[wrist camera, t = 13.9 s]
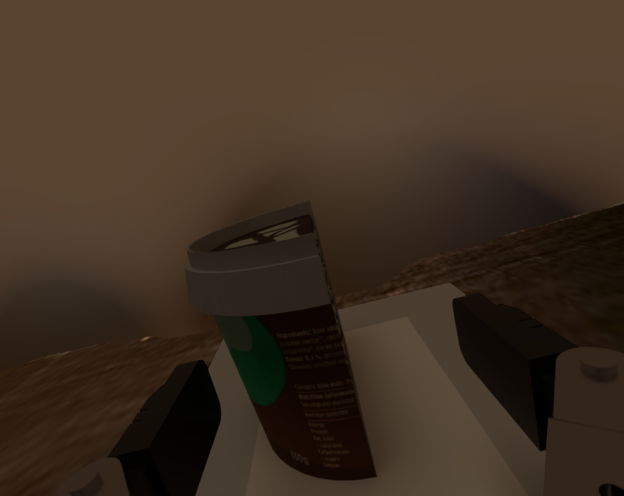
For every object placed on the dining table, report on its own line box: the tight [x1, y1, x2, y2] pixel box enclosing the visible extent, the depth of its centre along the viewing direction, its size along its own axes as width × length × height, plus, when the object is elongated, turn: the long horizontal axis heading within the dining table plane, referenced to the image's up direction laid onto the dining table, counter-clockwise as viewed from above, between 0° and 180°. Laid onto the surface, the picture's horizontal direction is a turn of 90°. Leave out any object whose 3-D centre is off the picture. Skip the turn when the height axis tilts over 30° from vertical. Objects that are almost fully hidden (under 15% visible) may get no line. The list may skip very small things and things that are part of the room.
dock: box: [195, 283, 546, 496], centre depth 18 cm, size 20×24×1 cm
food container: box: [185, 201, 377, 481], centre depth 17 cm, size 12×6×10 cm, turn 0°
